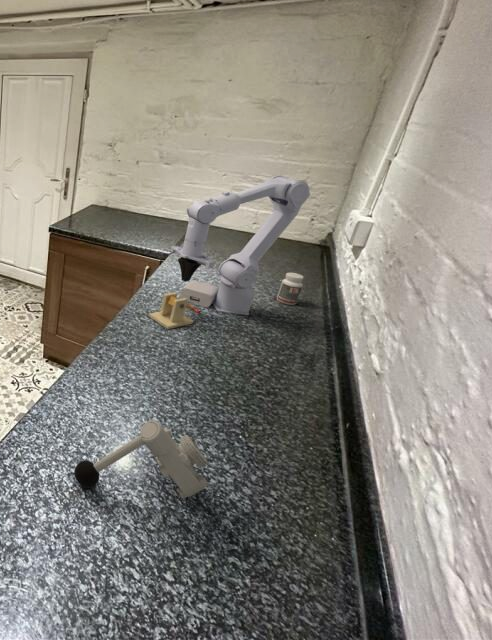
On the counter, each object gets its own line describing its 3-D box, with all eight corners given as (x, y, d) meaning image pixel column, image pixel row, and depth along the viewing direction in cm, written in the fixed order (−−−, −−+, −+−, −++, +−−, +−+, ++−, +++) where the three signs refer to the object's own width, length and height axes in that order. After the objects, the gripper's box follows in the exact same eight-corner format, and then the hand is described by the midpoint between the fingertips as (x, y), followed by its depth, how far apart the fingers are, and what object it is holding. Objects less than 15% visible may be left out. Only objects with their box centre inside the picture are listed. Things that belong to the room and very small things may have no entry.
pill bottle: (299, 306, 133) (309, 279, 130) (280, 304, 134) (289, 277, 131) (290, 298, 139) (300, 272, 135) (272, 296, 140) (281, 271, 136)
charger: (221, 294, 140) (208, 308, 130) (193, 286, 146) (179, 299, 136) (224, 281, 138) (211, 295, 128) (196, 274, 144) (181, 287, 134)
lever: (183, 307, 127) (187, 301, 127) (198, 316, 122) (202, 309, 122) (162, 300, 122) (166, 293, 121) (177, 308, 117) (181, 301, 117)
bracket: (172, 311, 128) (177, 288, 125) (192, 324, 121) (199, 300, 118) (148, 316, 124) (153, 293, 121) (167, 329, 117) (173, 305, 114)
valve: (108, 497, 77) (63, 450, 74) (196, 444, 74) (154, 392, 70) (127, 550, 68) (77, 499, 64) (230, 492, 64) (183, 434, 60)
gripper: (166, 234, 126) (158, 273, 131) (205, 249, 114) (195, 292, 119) (183, 232, 129) (174, 270, 134) (223, 247, 116) (212, 288, 121)
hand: (185, 280), depth 126 cm, fingers closed
